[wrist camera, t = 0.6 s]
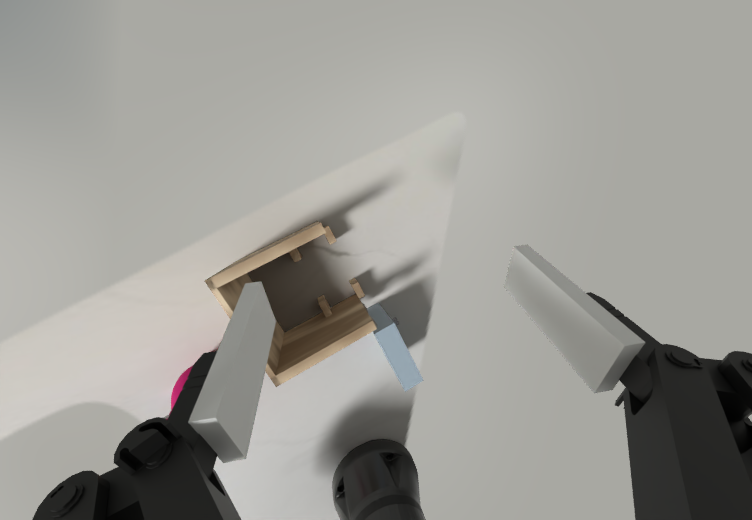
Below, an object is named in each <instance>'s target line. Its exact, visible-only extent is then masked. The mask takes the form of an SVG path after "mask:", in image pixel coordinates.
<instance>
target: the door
mask: <svg viewBox="0 0 752 520" xmlns="http://www.w3.org/2000/svg"><path fill="white" fill-rule="evenodd" d="M367 310H368V314H369V315H370V316H372V318H373V319H374V321H375V322H376V324H377V329H376V330H375V331H372V332H373V333H374V335H375V337H376V339H377V341H378V343H379V345H380V347H381V348H382V350H383V352H384V354H385V356H386V358H387V360H388V361H389V363H390V365H391V367H392V369H393V371H394V372H395V374H396V376H397V378H398V380H399V381H400V383H401V385H402V387H403V389H404V390H405V392H406V391H407V390H409V389H411V388H412V387H414V386H415V385H417V384H419V383H420V382H422V381H423V379H422V377H421V375H420V373H419V371H418V369H417V367H416V365H415V363H414V361H413V359H412V357H411V355H410V353H409V351H408V349H407V347H406V345H405V343H404V341H403V339H402V337H401V335H400V333H399V331H398V329H397V327H396V325H398V324H399V323H398V321H397V319H396V318H394V319H391V318H390V317H389V316H388V314H387V313H386V312H385V311H384V309H383V308H382V307H381V306H380V304H379V303H376V304H375V305H373V306H371V307H369V308H368V309H367Z"/></svg>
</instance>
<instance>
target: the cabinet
mask: <svg viewBox="0 0 752 520" xmlns="http://www.w3.org/2000/svg"><path fill="white" fill-rule="evenodd" d="M323 234H325V236H326V238H327V240H328V242H329V243H330V244H332V243H334V242H336V239H335V237H334V235H333V233H332V231H331V230H330V228H329V226H325V227H323V226H322V224H321V223H320V222H318V221H317V222H315V223H313V224H311V225H309V226H307V227H305V228H303V229H301V230H299V231H297V232H295V233H293V234H291V235H289V236H287V237H285V238H283V239H281V240H279V241H277V242H275V243H273V244H271V245H269V246H267V247H265V248H263V249H261V250H258V251H256V252H254V253H252V254H250V255H248V256H246V257H244V258H242V259H240V260H238V261H236V262H234V263H233V264H231V265H230V266H228V267H226V268H225V269H223V270H221V271H220V272H218V273H217V274H215V275H213V276H212V277H210V278H208V279H207V280H205V282H206V284H207V285H208V287H209V288H210V290H211V291H212V293H213V294H214V296H215V297H216V299H217V300H218V302H219V303H220V305H221V306H222V308H223V309H224V311H225V312H226V314H227V315H228V316H229V318H230V319H231V317H232V314H233V312H234V310H235V307H236V305H237V302H238V300H239V297H240V295H241V293H242V290H243V288H244V285H245V283H253V282H252V280H251V279H250V277H249V276H248V274H247V273H248V272H250V271H252V270H254V269H256V268H258V267H260V266H262V265H264V264H266V263H268V262H270V261H272V260H274V259H275V258H277V257H279V256H281V255H283V254H285V253H287V252H289V254H290V255H291V257H292V259H293V261H294V262H297V261H299V260H301V259H302V256H301V254H300V252H299V251H298V249H297V247H299V246H301V245H303V244H305V243H307V242H309V241H311V240H313V239H315V238H317V237H319V236H321V235H323ZM349 282H350V284H351V285H352V287H353V289H354V291H355V293H356V294H354V295H353V296H351V297H349V298H347V299H345V300H343V301H342V302H340V303H338V304H336V305H334V306H333V307H330V306H329V304H328V302H327V300H326V298H325V297H324V295H322V296H320V297H318V304H319V306H320V308H321V309H322V311H323V312H322V313H320V314H318V315H316V316H314V317H313V318H311V319H309V320H307V321H305V322H303V323H302V324H300V325H298V326H296V327H294V328H293V329H291V330H289V331H287V332H285V333H284V331H283V330H282V328H281V326H280V325H279V323H278V322H277V320H276V318H275V320H276V324H275V328H274V333H273V338H272V342H271V347H270V351H269V356H268V360H267V365H266V369H265V371H266V373H267V374H268V376H269V377H270V379H271V380H272V382H273V383H274V384H275V386H276V387H277V386H279V385H281V384H282V383H284V382H286V381H287V380H289V379H291V378H293V377H294V376H296V375H298V374H300V373H301V372H303V371H305V370H307V369H308V368H310V367H312V366H313V365H315V364H317V363H319V362H320V361H322V360H324V359H326V358H327V357H329V356H331V355H333V354H334V353H336V352H338V351H340V350H341V349H343V348H345V347H346V346H348V345H350V344H352V343H353V342H355V341H357V340H359V339H360V338H362V337H364V336H366V335H367V334H369V333H371V332H372V331H375V330H376V329H377V324H376V322H375V321H374V319H373V318H372V316H370V315H369V314H368V310H367V308H366V307H365V305H364V304H363V303H361V301H360V300H359V299H360V298H362V297H364V296H365V295H364V293H363V291H362V289H361V287H360V285H359V283H358V282H357V280H356V279H355V278H353V279H352V280H350V281H349Z"/></svg>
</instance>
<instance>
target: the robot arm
mask: <svg viewBox="0 0 752 520" xmlns="http://www.w3.org/2000/svg"><path fill="white" fill-rule="evenodd" d="M504 288H505V289H506V290H507V291H508V292H509V293H510V295H511V296H512V297H513V298H514V299H515V300H516V302H517V303H518V304H519V305H520V306H521V307H522V309H523V310H524V311H525V312H526V314H527V315H528V316H529V317H530V318H531V319H532V321H533V322H534V323H535V324H536V325H537V326H538V328H539V329H540V330H541V331H542V332H543V334H544V335H545V336H546V337H547V338H548V339H549V340H550V342H551V343H552V344H553V345H554V346H555V348H556V349H557V350H558V351H559V352H560V353H561V354H562V356H563V357H564V358H565V359H566V361H567V362H568V363H569V364H570V365H571V366H572V368H573V369H574V370H575V371H576V372H577V374H578V375H579V376H580V377H581V378H582V379H583V380H584V382H585V383H586V384H587V385H588V386H589V388H590V389H591V390H592V391H593V392H594V393H597V392H603V391H609V390H613V388H614V387H615V385H616V384H617V382H618V381H619V380H620V381H621V382H622V383H623V384H624V386H625V387H626V388H625V389H624V391H623V392H622V393H621V395H620V396H619V397H618V399H617V400H616V403H615V405H616V406H619V405H620V404H621V403H622V401H624V409H625V417H626V428H627V438H628V447H629V458H630V467H631V478H632V488H633V498H634V508H635V518H636V520H752V422H751V421H750V419H749V418H748V416H749V415H751V414H752V354H750V353H746V352H739V351H734V352H731V353H729V354H728V355H727V356H726V357H725V358H724V359H723V360H713V359H704V358H698V357H697V356H696V355H694V354H693V353H691V352H689V351H687V350H685V349H683V348H680V347H677V346H674V345H668V344H664V345H662V344H660V343H659V342H658V341H656V340H655V339H654V338H653V337H651V336H650V335H649V334H648V333H646V332H645V331H644V330H642V329H641V328H640V327H639V326H638V325H636V324H635V323H634V322H632V321H631V320H630V319H629V318H627V317H625V316H624V314H622V313H621V312H620V311H619V310H616V309H615V307H613V306H612V305H611V304H610V303H609V302H607V301H606V300H605V299H603V298H601V297H599V296H597V295H595V294H593V293H591V292H590V293H585V292H584V291H583V290H582V289H580V288H579V287H578V286H577V285H575V284H574V283H573V282H572V281H571V280H569V279H568V278H567V277H566V276H564V275H563V274H562V273H561V272H560V271H559V270H557V269H556V268H555V267H554V266H552V265H551V264H550V263H549V262H548V261H546V260H545V259H544V258H543V257H542V256H540V255H539V254H538V253H537V252H536V251H534V250H533V249H532V248H531V247H529V246H528V245H521V246H514V248H513V251H512V256H511V260H510V264H509V268H508V272H507V276H506V281H505V285H504ZM275 324H276V320H275V317H274V314H273V312H272V309H271V306H270V304H269V301H268V298H267V296H266V293H265V290H264V288H263V285H262V282H261V281H260V282H253V283H245V285H244V288H243V290H242V293H241V295H240V297H239V300H238V302H237V305H236V307H235V310H234V312H233V314H232V317H231V319H230V322H229V324H228V327H227V329H226V331H225V334H224V336H223V339H222V341H221V344H220V346H219V348H218V351H215V352H209V353H204V354H203V355H202V356H201V357H200V358H199V359H198V360H197V362H196V363H195V364H194V365H193V367H192V369H191V371H190V373H189V375H188V377H187V378H188V379H187V380H186V382H185V384H184V386H183V388H182V389H183V390H182V391H181V392H180V394H179V396H178V398H177V400H176V403H175V405H174V407H173V409H172V411H171V413H170V415H169V417H168V419H167V420H166V419H165V418H159V417H157V418H153V419H149V420H147V421H145V422H143V423H141V424H139V425H138V426H136V427H135V428H134V429H133V430H132V431H130V432H129V433H128V434H127V435H126V436H125V437H124V439H123V440H122V441H121V443H120V444H119V446H118V448H117V450H116V452H115V454H114V463H115V464H116V465H118V466H119V467H117V468H115V469H113V470H111V471H109V472H107V473H105V474H102V475H100V476H99V475H98V474H96V473H95V472H93V471H82V472H80V473H78V474H75V475H72V476H71V477H69V478H68V479H66V480H65V481H63V482H62V483H60V484H59V485H58V486H57V487H56V488H55V489H54V490H52V491H51V492H50V493H49V494H48V495H47V497H46V498H45V499H44V500H43V502H42V503H41V504H40V506H39V507H38V509H37V511H36V513H35V515H34V518H33V520H241V518H240V516H239V514H238V512H237V511H236V509H235V507H234V505H233V503H232V501H231V499H230V498H229V496H228V494H227V492H226V490H225V488H224V486H223V484H222V483H221V481H220V479H219V477H218V475H217V473H216V471H215V470H214V469H213V468H214V464H215V461H216V458H217V456H218V457H219V459H220V460H221V461H222V462H223V463H226V462H231V461H236V460H242V459H246V456H247V452H248V447H249V443H250V438H251V433H252V429H253V424H254V420H255V415H256V411H257V406H258V401H259V397H260V392H261V388H262V383H263V379H264V374H265V369H266V365H267V360H268V356H269V351H270V347H271V342H272V338H273V333H274V328H275ZM332 489H333V500H334V505H335V508H336V511H337V513H338V515H339V517H340V520H426V519H425V517H424V514H423V512H422V509H421V506H420V497H419V483H418V474H417V469H416V466H415V464H414V461H413V459H412V456H411V455H410V453H409V452H408V450H407V449H406V448H405V447H404V446H402V445H401V444H399V443H397V442H394V441H390V440H375V441H371V442H367V443H365V444H362V445H360V446H359V447H357V448H355V449H354V450H352V451H351V452H350V453H349V454H348V455H347V456H346V457H345V458H344V459H343V460H342V461H341V463H340V464H339V466H338V467H337V469H336V472H335V474H334V477H333V483H332Z"/></svg>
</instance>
